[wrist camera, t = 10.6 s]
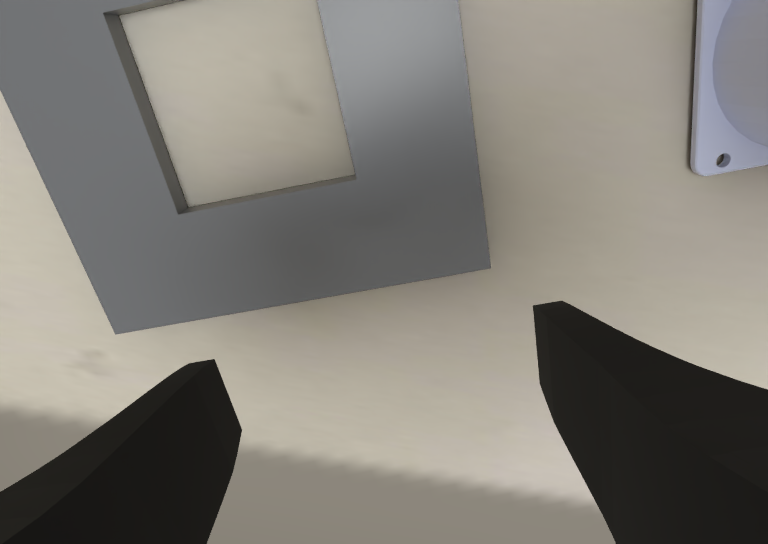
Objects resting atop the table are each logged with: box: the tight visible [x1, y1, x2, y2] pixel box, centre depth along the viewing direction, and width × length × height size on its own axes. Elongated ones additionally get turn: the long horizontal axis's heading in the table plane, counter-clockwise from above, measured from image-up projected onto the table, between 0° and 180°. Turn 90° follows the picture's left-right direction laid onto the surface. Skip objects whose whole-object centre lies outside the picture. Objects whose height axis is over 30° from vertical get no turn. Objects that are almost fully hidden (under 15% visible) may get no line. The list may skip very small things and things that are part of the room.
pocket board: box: [0, 0, 491, 334], centre depth 18 cm, size 16×16×1 cm
